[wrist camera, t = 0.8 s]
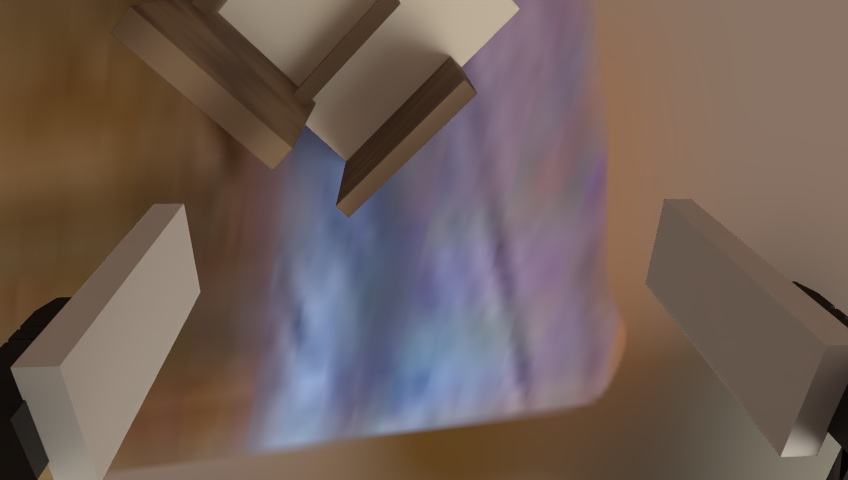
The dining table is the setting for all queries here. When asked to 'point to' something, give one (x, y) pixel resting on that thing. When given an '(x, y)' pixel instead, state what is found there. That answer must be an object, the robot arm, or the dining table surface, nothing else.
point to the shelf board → (365, 53)
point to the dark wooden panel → (404, 134)
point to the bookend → (235, 69)
